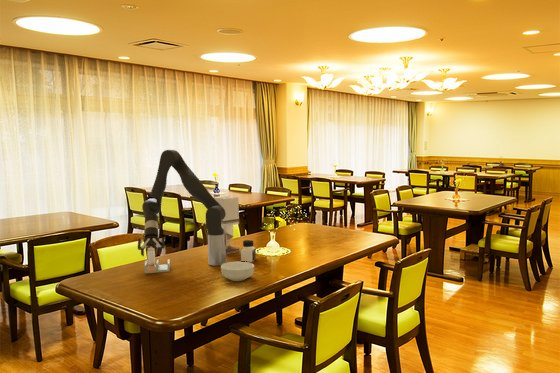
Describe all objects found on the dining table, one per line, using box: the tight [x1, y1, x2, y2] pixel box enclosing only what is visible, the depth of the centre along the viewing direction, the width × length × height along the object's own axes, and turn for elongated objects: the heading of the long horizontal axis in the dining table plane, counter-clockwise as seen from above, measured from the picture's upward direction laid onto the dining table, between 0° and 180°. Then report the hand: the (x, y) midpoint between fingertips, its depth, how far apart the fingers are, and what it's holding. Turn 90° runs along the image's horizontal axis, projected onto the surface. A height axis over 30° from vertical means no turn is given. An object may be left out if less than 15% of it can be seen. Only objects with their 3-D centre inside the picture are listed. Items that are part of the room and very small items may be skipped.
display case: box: [213, 195, 240, 255], centre depth 288 cm, size 11×11×35 cm
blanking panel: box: [146, 247, 156, 267], centre depth 248 cm, size 6×4×10 cm, turn 13°
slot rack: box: [143, 258, 171, 274], centre depth 248 cm, size 11×13×4 cm
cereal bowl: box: [220, 260, 255, 282], centre depth 230 cm, size 17×17×7 cm
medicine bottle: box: [240, 239, 257, 263], centre depth 266 cm, size 7×7×12 cm
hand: (151, 255), depth 246 cm, fingers open, 8 cm apart
